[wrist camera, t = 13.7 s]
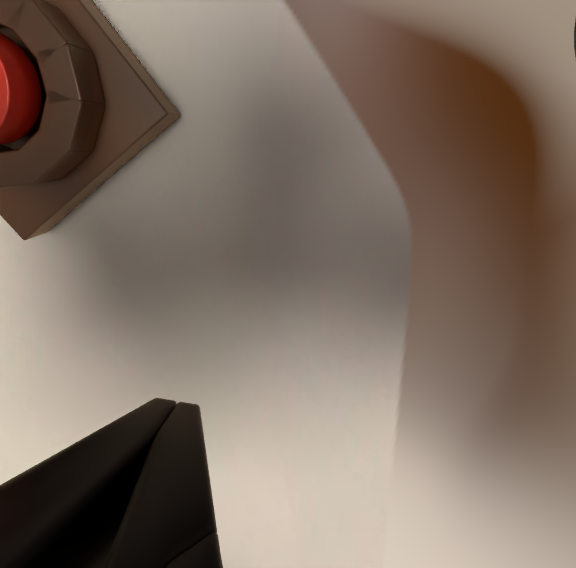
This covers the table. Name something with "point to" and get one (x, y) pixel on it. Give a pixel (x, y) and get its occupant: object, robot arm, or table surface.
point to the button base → (74, 111)
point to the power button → (17, 92)
